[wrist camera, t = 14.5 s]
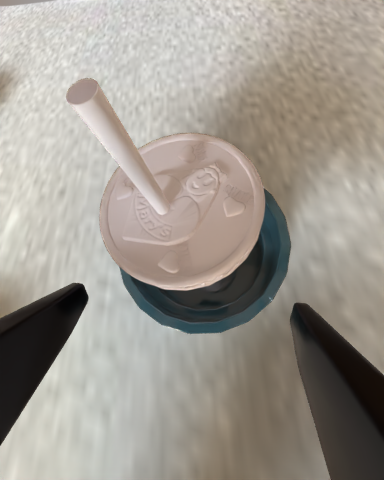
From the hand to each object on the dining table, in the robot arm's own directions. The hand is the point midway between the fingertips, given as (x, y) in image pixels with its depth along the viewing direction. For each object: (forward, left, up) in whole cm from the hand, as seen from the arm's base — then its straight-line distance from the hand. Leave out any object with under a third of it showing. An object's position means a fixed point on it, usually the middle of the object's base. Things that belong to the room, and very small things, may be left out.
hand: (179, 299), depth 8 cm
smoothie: (+2, -3, -8) cm, 9 cm away
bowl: (+2, -3, -8) cm, 9 cm away
